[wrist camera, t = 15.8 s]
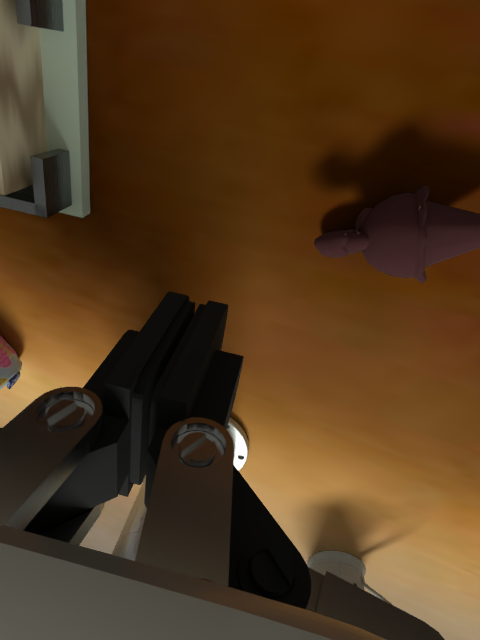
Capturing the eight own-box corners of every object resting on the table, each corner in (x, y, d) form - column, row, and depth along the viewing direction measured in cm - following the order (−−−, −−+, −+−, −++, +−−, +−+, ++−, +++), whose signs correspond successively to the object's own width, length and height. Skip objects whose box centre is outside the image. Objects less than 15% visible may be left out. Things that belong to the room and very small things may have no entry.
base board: (90, 213, 39) (82, 217, 38) (-17, 187, 40) (-28, 191, 38) (84, -63, 28) (73, -69, 27) (-62, -92, 29) (-80, -100, 28)
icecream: (549, 172, 26) (309, 195, 30) (537, 288, 27) (313, 293, 32) (513, 177, 32) (319, 195, 36) (505, 270, 34) (322, 277, 38)
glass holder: (297, 555, 63) (291, 676, 50) (388, 541, 57) (407, 673, 45) (322, 585, 66) (322, 706, 53) (410, 575, 60) (433, 707, 48)
